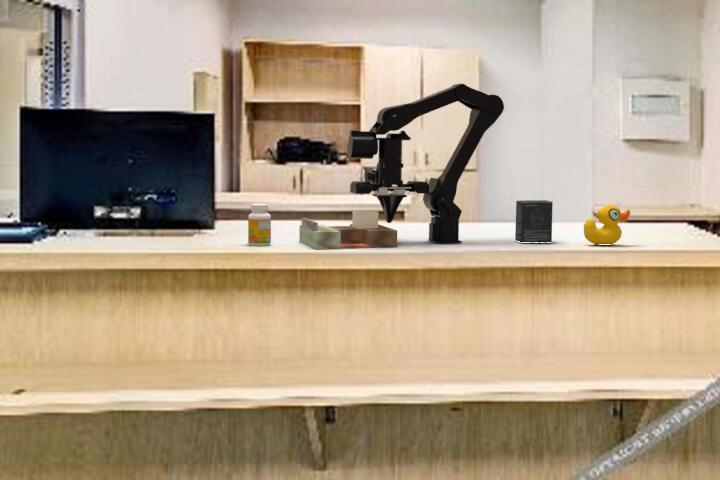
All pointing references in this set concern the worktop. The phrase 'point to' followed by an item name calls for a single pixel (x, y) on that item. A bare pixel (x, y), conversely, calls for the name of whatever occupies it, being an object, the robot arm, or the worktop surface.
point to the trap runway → (345, 236)
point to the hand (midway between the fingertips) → (389, 222)
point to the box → (534, 221)
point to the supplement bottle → (259, 225)
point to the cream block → (365, 219)
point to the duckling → (606, 226)
